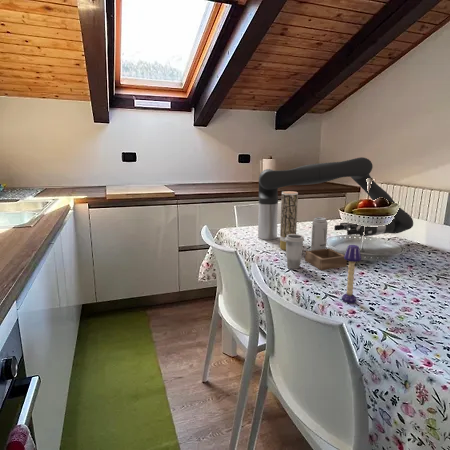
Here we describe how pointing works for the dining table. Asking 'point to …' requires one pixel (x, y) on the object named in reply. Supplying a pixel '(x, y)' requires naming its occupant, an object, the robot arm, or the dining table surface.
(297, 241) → the cup
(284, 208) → the bark patterned cylinder
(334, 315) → the dining table surface
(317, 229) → the energy drink can
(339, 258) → the wooden tray
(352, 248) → the toy lamp
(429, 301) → the dining table surface
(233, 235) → the dining table surface
